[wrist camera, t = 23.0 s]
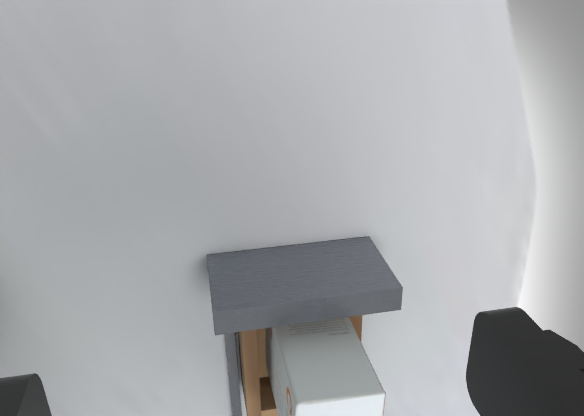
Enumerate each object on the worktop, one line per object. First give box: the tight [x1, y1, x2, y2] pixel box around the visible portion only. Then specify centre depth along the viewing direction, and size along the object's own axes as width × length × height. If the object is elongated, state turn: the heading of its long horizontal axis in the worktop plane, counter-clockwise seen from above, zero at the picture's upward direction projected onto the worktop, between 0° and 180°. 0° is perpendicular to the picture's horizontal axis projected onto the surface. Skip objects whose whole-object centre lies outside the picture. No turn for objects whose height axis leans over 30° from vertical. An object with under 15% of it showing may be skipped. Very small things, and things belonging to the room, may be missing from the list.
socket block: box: [238, 315, 362, 416], centre depth 48 cm, size 10×12×5 cm
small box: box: [266, 317, 386, 416], centre depth 43 cm, size 8×6×13 cm
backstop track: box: [207, 237, 403, 416], centre depth 48 cm, size 14×21×8 cm, turn 2°
